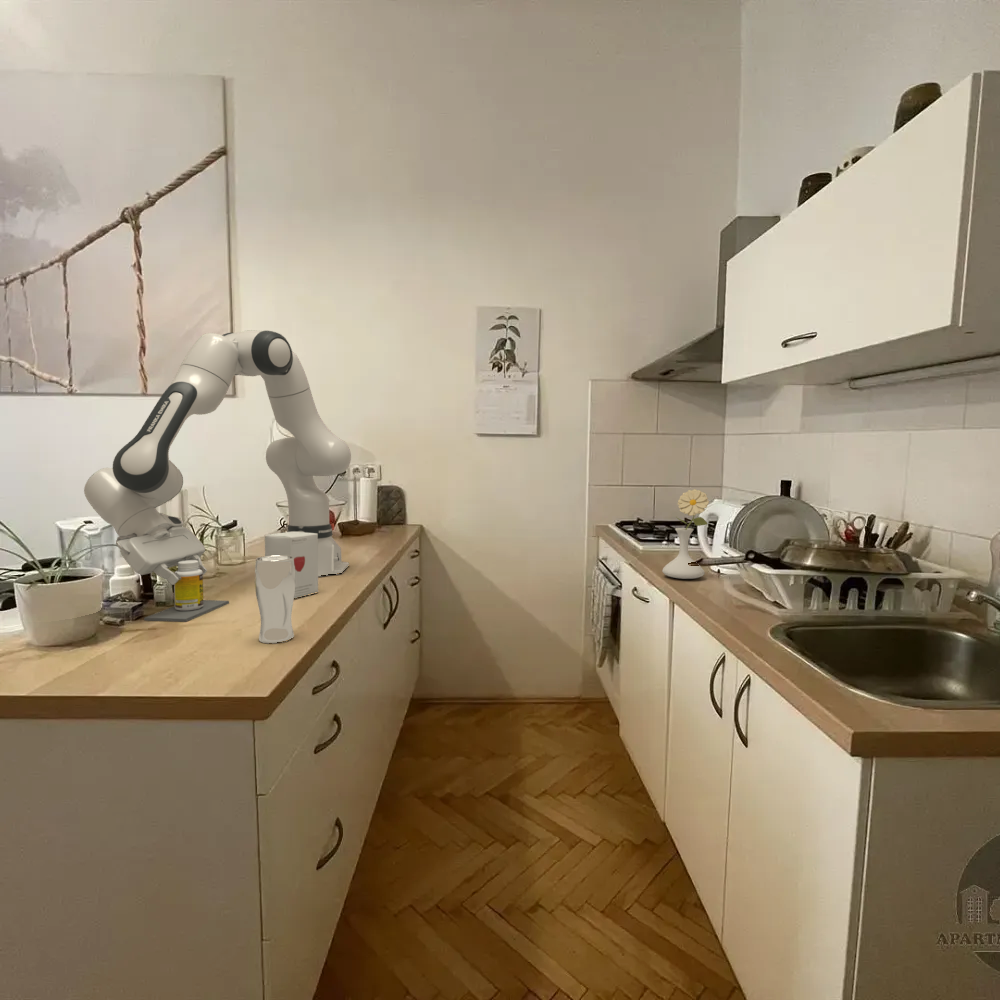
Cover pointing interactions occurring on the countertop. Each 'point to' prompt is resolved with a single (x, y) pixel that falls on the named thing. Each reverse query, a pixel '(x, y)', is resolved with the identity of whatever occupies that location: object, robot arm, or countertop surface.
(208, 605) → the mat
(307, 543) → the supplement box
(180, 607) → the supplement bottle
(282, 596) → the beer glass
